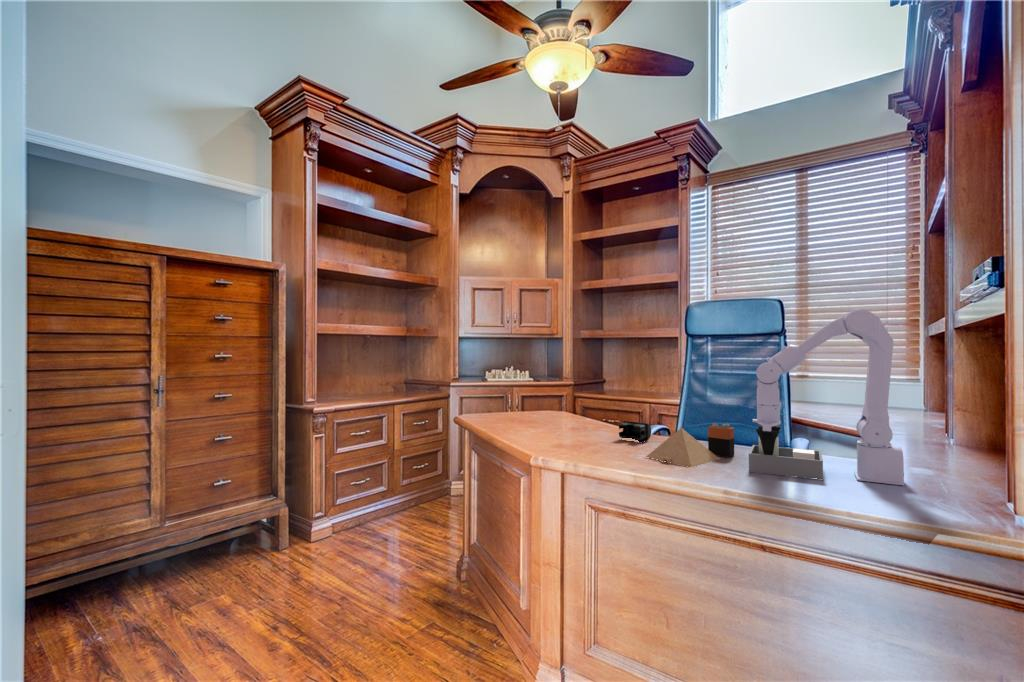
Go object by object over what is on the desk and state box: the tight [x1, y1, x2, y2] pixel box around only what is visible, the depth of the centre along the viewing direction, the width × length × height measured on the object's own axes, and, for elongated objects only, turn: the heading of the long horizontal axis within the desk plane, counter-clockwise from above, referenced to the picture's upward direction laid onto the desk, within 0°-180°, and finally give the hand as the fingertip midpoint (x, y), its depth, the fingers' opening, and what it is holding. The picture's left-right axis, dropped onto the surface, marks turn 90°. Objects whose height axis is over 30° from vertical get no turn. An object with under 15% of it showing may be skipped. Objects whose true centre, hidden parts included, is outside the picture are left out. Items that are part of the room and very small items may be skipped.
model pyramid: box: [645, 427, 720, 468], centre depth 147 cm, size 17×17×10 cm
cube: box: [793, 448, 815, 460], centre depth 130 cm, size 5×5×5 cm
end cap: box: [618, 420, 652, 443], centre depth 176 cm, size 10×7×7 cm
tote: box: [748, 444, 824, 480], centre depth 132 cm, size 17×13×5 cm
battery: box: [707, 422, 735, 459], centre depth 151 cm, size 4×7×10 cm, turn 44°
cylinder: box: [758, 436, 780, 456], centre depth 134 cm, size 5×5×7 cm
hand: (768, 452), depth 134 cm, fingers closed on cylinder, 5 cm apart
